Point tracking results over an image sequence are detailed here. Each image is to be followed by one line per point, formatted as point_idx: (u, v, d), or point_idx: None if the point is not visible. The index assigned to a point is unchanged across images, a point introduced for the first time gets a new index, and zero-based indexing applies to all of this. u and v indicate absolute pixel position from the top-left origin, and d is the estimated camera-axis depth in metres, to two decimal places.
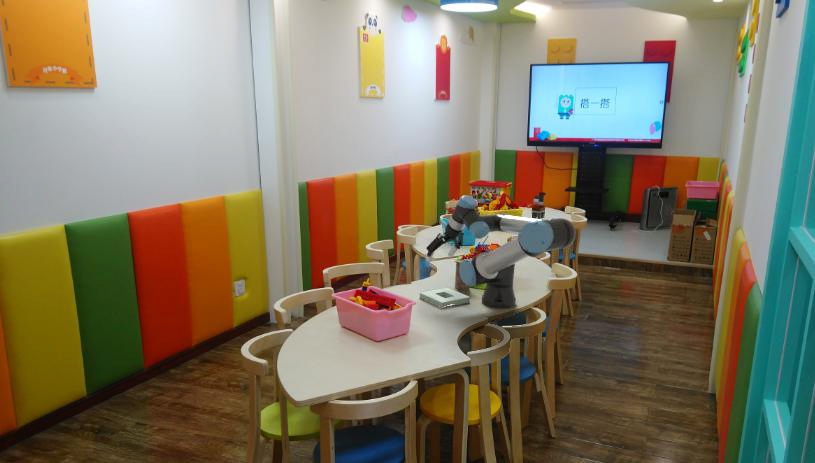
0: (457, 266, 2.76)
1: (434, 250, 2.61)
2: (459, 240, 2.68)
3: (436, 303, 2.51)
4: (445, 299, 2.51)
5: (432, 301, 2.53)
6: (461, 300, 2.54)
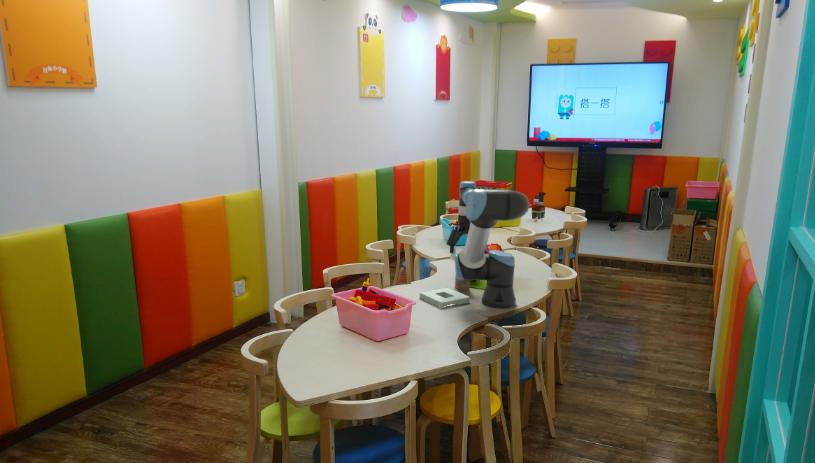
0: None
1: (455, 244, 2.69)
2: None
3: (436, 303, 2.51)
4: (445, 299, 2.51)
5: (432, 301, 2.53)
6: (461, 300, 2.54)
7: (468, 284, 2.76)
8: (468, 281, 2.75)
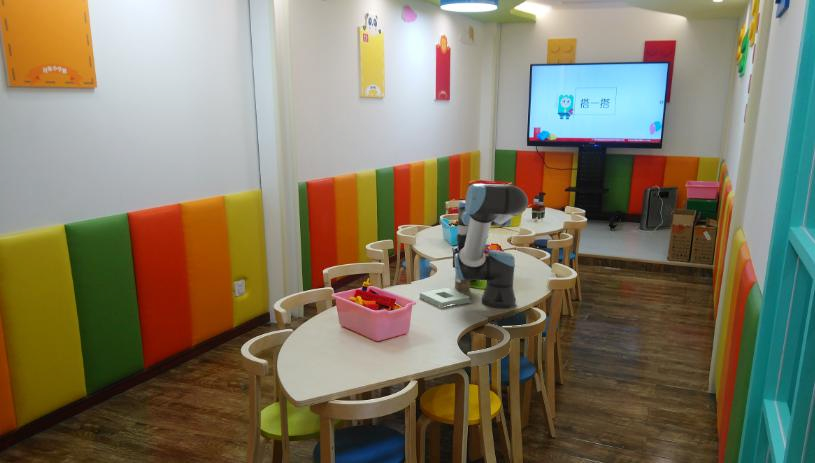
0: None
1: None
2: None
3: (436, 303, 2.51)
4: (445, 299, 2.51)
5: (432, 301, 2.53)
6: (461, 300, 2.54)
7: (468, 284, 2.76)
8: (468, 281, 2.75)
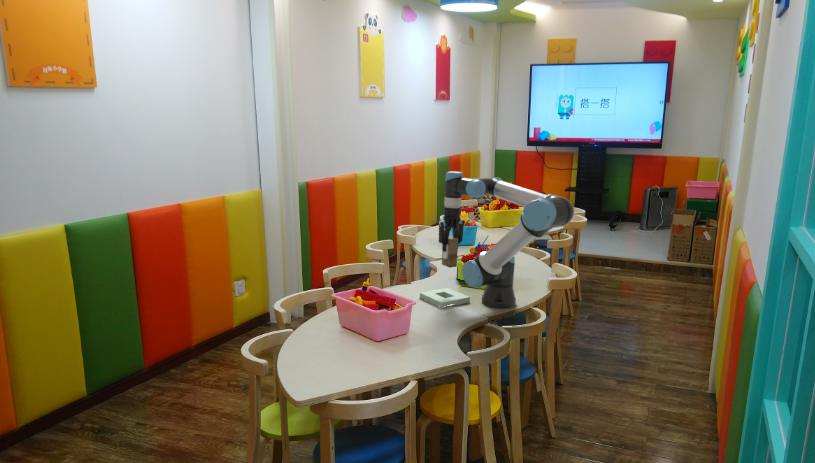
0: None
1: (446, 241, 2.55)
2: (459, 232, 2.59)
3: (436, 303, 2.51)
4: (445, 299, 2.51)
5: (432, 301, 2.53)
6: (461, 300, 2.54)
7: (455, 261, 2.58)
8: (455, 258, 2.57)
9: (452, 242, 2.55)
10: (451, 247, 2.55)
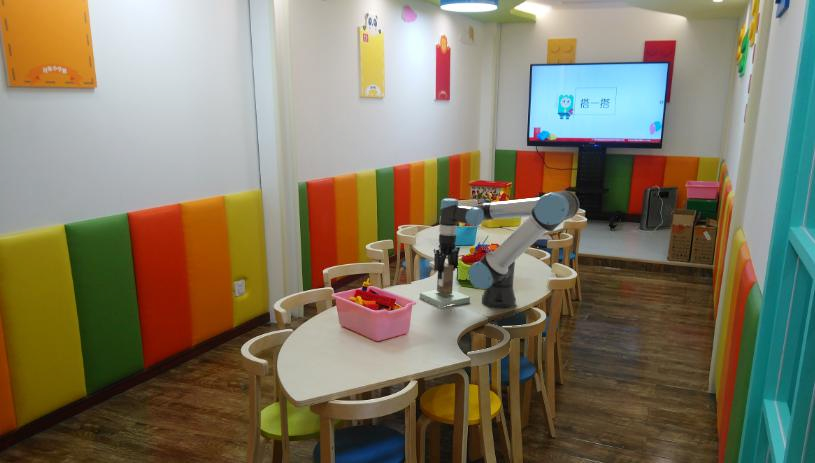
0: None
1: (442, 268, 2.53)
2: (454, 259, 2.58)
3: (436, 303, 2.51)
4: (445, 299, 2.51)
5: (432, 301, 2.53)
6: (461, 300, 2.54)
7: (451, 288, 2.56)
8: (451, 285, 2.56)
9: (448, 270, 2.53)
10: (447, 274, 2.53)
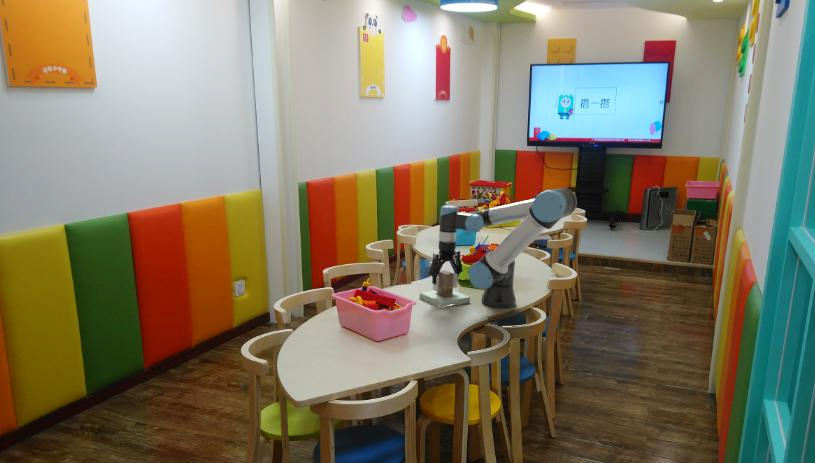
0: (439, 276, 2.57)
1: (437, 274, 2.52)
2: (457, 263, 2.60)
3: (436, 303, 2.51)
4: (445, 299, 2.51)
5: (432, 301, 2.53)
6: (461, 300, 2.54)
7: (451, 296, 2.57)
8: (451, 292, 2.57)
9: (448, 277, 2.54)
10: (447, 282, 2.54)
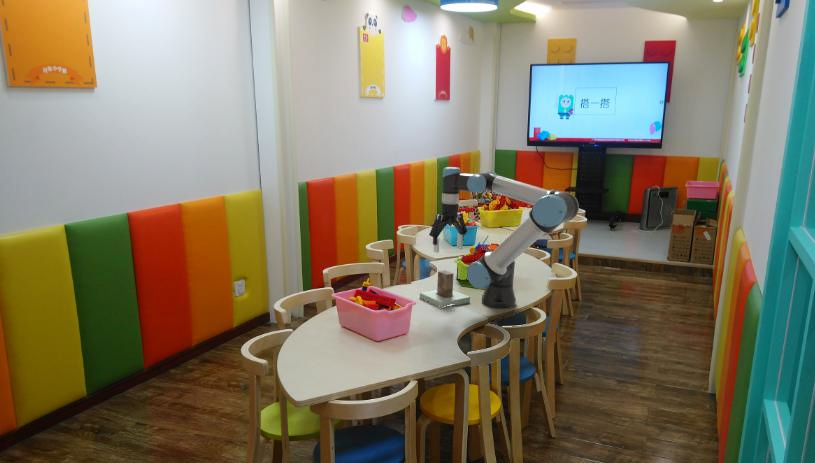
0: (439, 276, 2.57)
1: (438, 234, 2.49)
2: (461, 225, 2.58)
3: (436, 303, 2.51)
4: (445, 299, 2.51)
5: (432, 301, 2.53)
6: (461, 300, 2.54)
7: (451, 296, 2.57)
8: (451, 292, 2.57)
9: (448, 277, 2.54)
10: (447, 282, 2.54)
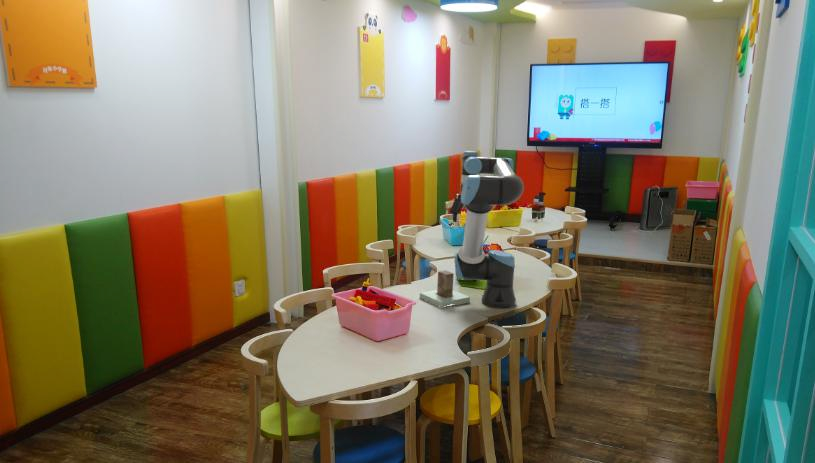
0: (439, 276, 2.57)
1: (457, 212, 2.73)
2: None
3: (436, 303, 2.51)
4: (445, 299, 2.51)
5: (432, 301, 2.53)
6: (461, 300, 2.54)
7: (451, 296, 2.57)
8: (451, 292, 2.57)
9: (448, 277, 2.54)
10: (447, 282, 2.54)
